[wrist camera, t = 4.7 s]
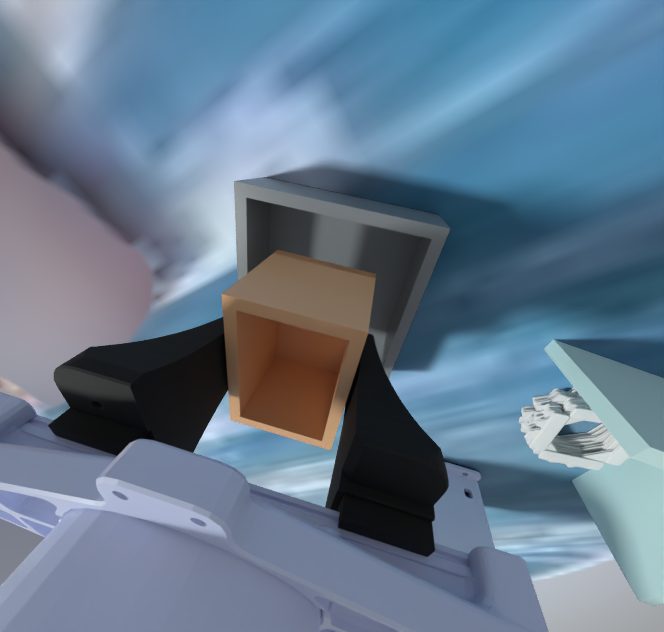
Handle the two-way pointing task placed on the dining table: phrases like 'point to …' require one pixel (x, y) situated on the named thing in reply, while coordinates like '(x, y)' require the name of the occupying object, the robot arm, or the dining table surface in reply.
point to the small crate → (295, 344)
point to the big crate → (345, 245)
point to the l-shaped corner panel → (610, 456)
